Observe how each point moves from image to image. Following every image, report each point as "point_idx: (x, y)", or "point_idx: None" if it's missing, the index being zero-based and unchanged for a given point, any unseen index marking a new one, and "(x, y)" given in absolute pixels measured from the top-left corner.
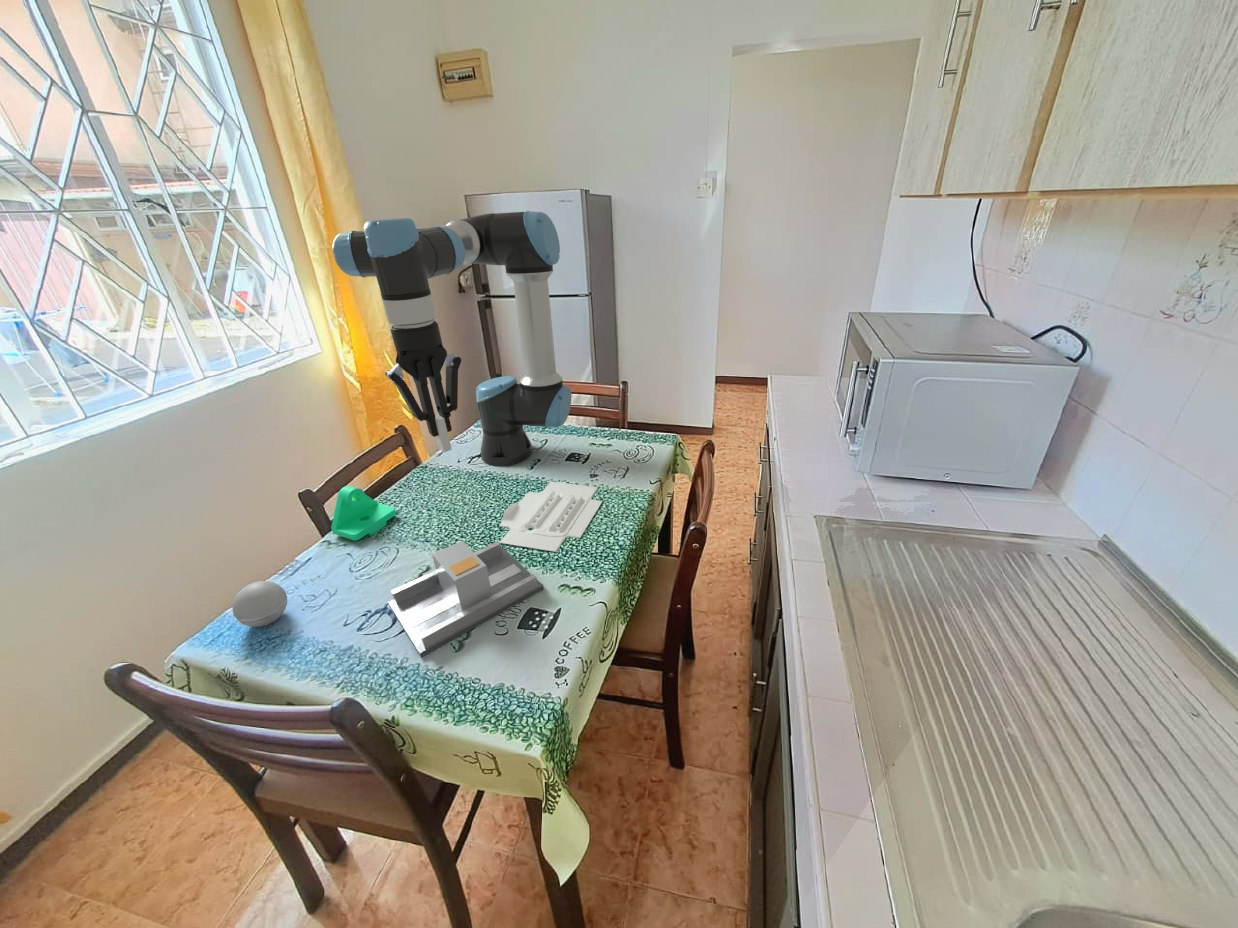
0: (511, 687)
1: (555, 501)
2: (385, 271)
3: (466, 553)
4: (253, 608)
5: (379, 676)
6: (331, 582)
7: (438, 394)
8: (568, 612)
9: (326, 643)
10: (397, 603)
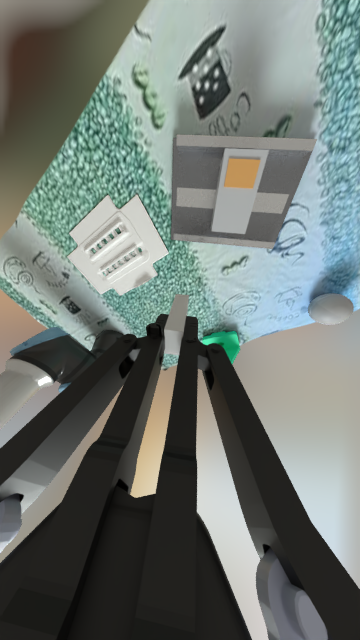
0: None
1: (106, 266)
2: None
3: (223, 201)
4: (348, 300)
5: (347, 154)
6: (271, 306)
7: (144, 386)
8: (176, 55)
9: (325, 244)
10: (270, 240)
